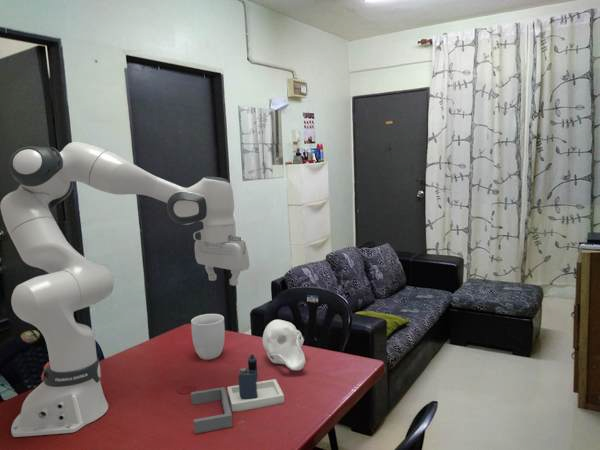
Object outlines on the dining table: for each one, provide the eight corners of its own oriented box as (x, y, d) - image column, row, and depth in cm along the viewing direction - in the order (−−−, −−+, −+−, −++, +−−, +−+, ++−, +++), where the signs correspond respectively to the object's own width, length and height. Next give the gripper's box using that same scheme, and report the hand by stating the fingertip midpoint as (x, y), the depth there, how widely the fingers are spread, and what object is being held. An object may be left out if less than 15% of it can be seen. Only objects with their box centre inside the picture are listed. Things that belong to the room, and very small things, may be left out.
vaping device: (258, 399, 125) (256, 357, 123) (239, 399, 125) (236, 357, 123) (259, 394, 127) (257, 353, 126) (240, 395, 127) (238, 353, 126)
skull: (322, 359, 140) (301, 342, 159) (300, 320, 138) (281, 308, 157) (287, 384, 137) (270, 364, 156) (263, 344, 135) (249, 329, 154)
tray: (232, 412, 120) (231, 404, 119) (227, 394, 129) (227, 386, 129) (284, 403, 123) (283, 395, 123) (276, 386, 133) (275, 379, 133)
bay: (194, 433, 111) (193, 422, 110) (191, 402, 125) (190, 392, 125) (232, 426, 113) (231, 415, 113) (225, 397, 128) (224, 386, 127)
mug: (183, 351, 160) (181, 315, 159) (212, 343, 167) (210, 309, 165) (202, 365, 149) (199, 327, 147) (232, 356, 155) (229, 319, 153)
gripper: (253, 235, 124) (255, 285, 125) (207, 230, 137) (210, 275, 139) (235, 239, 119) (238, 290, 121) (189, 233, 133) (192, 279, 134)
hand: (222, 282), depth 130 cm, fingers open, 8 cm apart
